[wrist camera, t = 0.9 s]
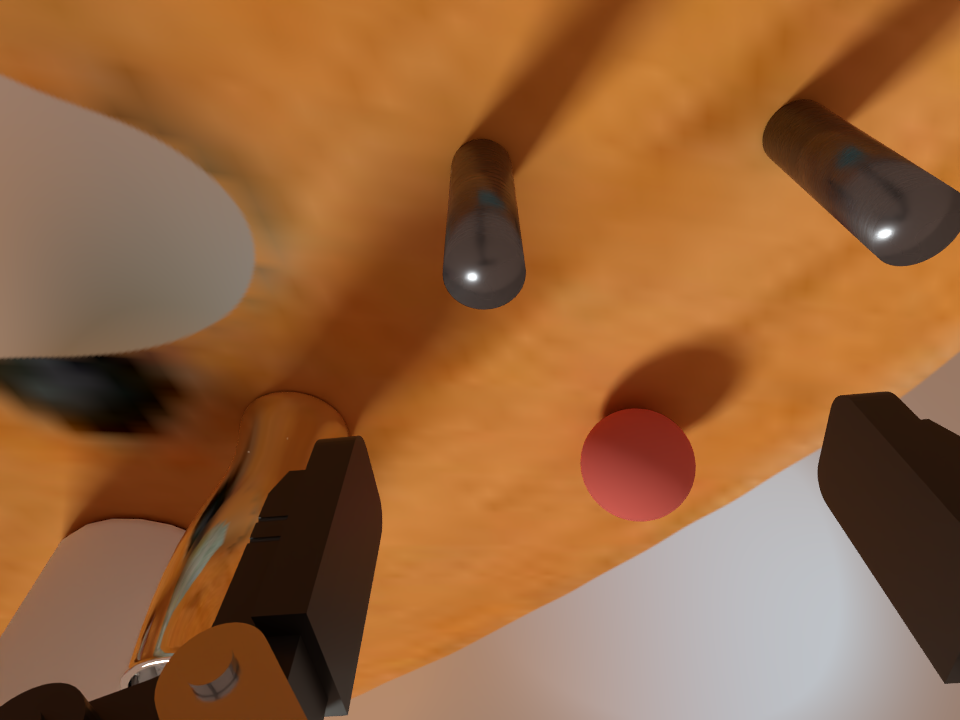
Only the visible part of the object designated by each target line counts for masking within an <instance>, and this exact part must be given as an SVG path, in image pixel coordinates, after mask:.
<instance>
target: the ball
mask: <svg viewBox="0 0 960 720" xmlns="http://www.w3.org/2000/svg"><path fill="white" fill-rule="evenodd" d="M695 467H696V465H695V457H694V452H693V449H692V446H691V444H690V442H689V440H688V438H687V437H686V435H685V434H684V432H683V431H682V430H681V429H680V427H679V426H678V425H676V424H675V423H674V422H673V421H672V420H670V419H669V418H667V417H666V416H664V415H662V414H660V413H657V412H655V411H651V410H647V409H637V408H633V409H624V410H620V411H617V412H614V413H612V414H610V415H608V416H607V417H605V418H603V419H602V420H601V421H599V422H598V423H597V424H596V425H595V426H594V428H593V429H592V430H591V431H590V433H589V434H588V436H587V438H586V440H585V442H584V445H583V449H582V453H581V472H582V477H583V480H584V483H585V485H586V487H587V489H588V491H589V493H590V494H591V496H592V497H593V499H594V500H595V501H596V502H597V503H598V504H599V505H600V506H601V507H602V508H603V509H605V510H606V511H608V512H609V513H611V514H613V515H615V516H617V517H619V518H622V519H626V520H631V521H650V520H655V519H658V518H661V517H664V516H666V515H668V514H669V513H671V512H672V511H674V510H675V509H676V508H678V507H679V506H680V505H681V503H682V502H683V501H684V500H685V499H686V497H687V496H688V494H689V492H690V490H691V488H692V485H693V482H694V478H695Z"/></svg>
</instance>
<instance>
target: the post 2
mask: <svg viewBox="0 0 960 720" xmlns="http://www.w3.org/2000/svg"><path fill="white" fill-rule="evenodd" d="M763 148H764V151H765V153H766V154H767V156H768V157H769V158H770V159H771V160H772V161H773V162H775V163H776V164H777V165H778V166H779V167H780V168H781V169H782V170H783V171H784V172H785V173H787V174H788V175H789V176H790V177H791V178H792V179H793V180H794V181H795V182H796V183H797V184H799V185H800V186H801V187H802V188H803V189H804V190H805V191H806V192H807V193H808V194H809V195H810V196H812V197H813V198H814V199H815V200H816V201H817V202H818V203H819V204H820V205H821V206H822V207H824V208H825V209H826V210H827V211H828V212H829V213H830V214H831V215H832V216H833V217H834V218H835V219H837V220H838V221H839V222H840V223H841V224H842V225H843V226H844V227H845V228H846V229H847V230H849V231H850V232H851V233H852V234H853V235H854V236H855V237H856V238H857V239H858V240H859V241H860V242H862V243H863V244H864V245H865V246H866V247H867V248H868V249H869V250H870V251H871V252H872V253H874V254H875V255H876V256H877V257H878V258H879V259H880V260H881V261H883V262H885V263H887V264H889V265H894V266H908V265H913V264H917V263H920V262H923V261H925V260H927V259H930V258H931V257H933V256H935V255H936V254H938V253H939V252H941V251H942V250H943V249H945V248H946V247H947V246H948V245H949V244H950V243H951V242H952V241H953V240H954V239H955V237H956V236H957V235H958V233H959V232H960V193H959V192H958V191H956V190H955V189H953V188H952V187H950V186H949V185H947V184H945V183H944V182H942V181H941V180H939V179H937V178H936V177H934V176H933V175H931V174H930V173H928V172H926V171H925V170H923V169H922V168H920V167H918V166H917V165H915V164H914V163H912V162H911V161H909V160H907V159H906V158H904V157H903V156H901V155H899V154H898V153H896V152H895V151H893V150H892V149H890V148H888V147H887V146H885V145H884V144H882V143H880V142H879V141H877V140H876V139H874V138H872V137H871V136H869V135H868V134H866V133H865V132H863V131H861V130H860V129H858V128H857V127H855V126H853V125H852V124H850V123H849V122H847V121H846V120H844V119H842V118H841V117H839V116H838V115H836V114H834V113H833V112H831V111H830V110H828V109H827V108H825V107H823V106H822V105H820V104H819V103H817V102H815V101H812V100H798V101H794V102H791V103H789V104H787V105H785V106H784V107H782V108H781V109H780V110H778V111H777V112H776V113H775V114H774V115H773V116H772V118H771V119H770V120H769V122H768V124H767V126H766V128H765V130H764V134H763Z"/></svg>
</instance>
